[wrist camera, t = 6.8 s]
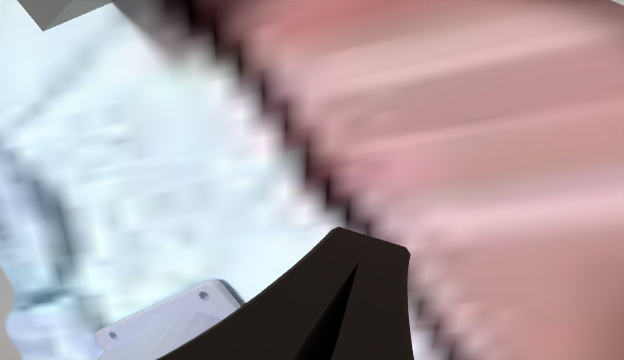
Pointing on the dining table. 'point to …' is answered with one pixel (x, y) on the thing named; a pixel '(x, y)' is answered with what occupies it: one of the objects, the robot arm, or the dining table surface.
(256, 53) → the dining table surface
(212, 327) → the robot arm
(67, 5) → the grey switch box
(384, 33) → the dining table surface
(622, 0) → the side door
